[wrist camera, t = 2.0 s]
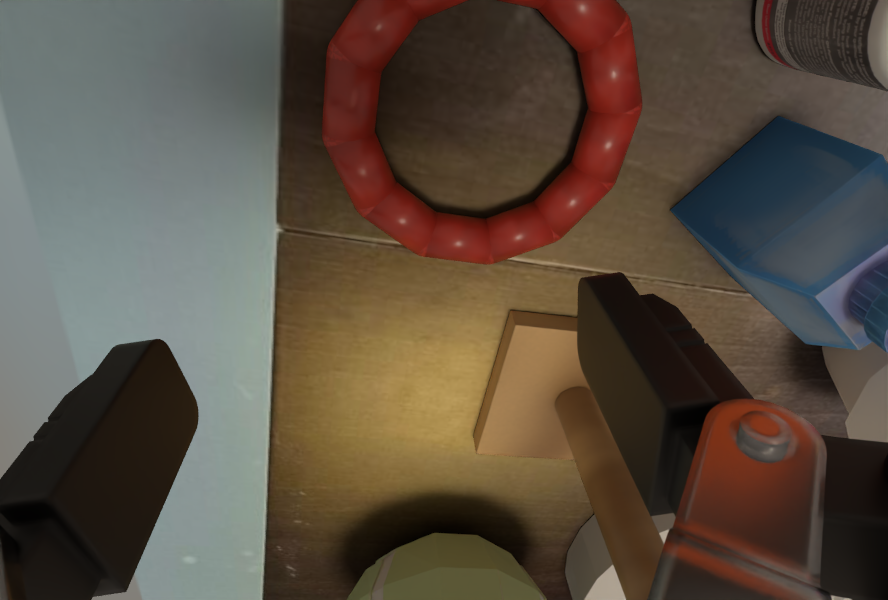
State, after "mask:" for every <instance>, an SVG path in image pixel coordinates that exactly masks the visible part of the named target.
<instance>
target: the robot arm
mask: <svg viewBox="0 0 888 600" xmlns="http://www.w3.org/2000/svg"><path fill="white" fill-rule="evenodd" d="M577 349H578V356H579V361H580V365H581V369H582V372H583V374H584V376H585V378H586V381H587V383H588V385H589V387H590V389H591V391H592V393H593V395H594V398H595V400H596V402H597V404H598V406H599V408H600V410H601V412H602V414H603V417H604V419H605V421H606V423H607V425H608V427H609V429H610V431H611V434H612V436H613V438H614V440H615V442H616V444H617V446H618V448H619V451H620V453H621V455H622V457H623V459H624V461H625V463H626V465H627V468H628V470H629V472H630V474H631V476H632V478H633V480H634V482H635V484H636V487H637V489H638V491H639V493H640V495H641V497H642V499H643V501H644V504H645V506H646V508H647V510H648V512H649V514H650V516H656V515H663V514H669V513H674V515H675V517H676V518H675V521H674V525H673V527H672V528H670V529H669V532H668V534H667V537H666V540H665V543H664V546H663V549H662V553H661V556H660V559H659V562H658V566H657V569H656V572H655V576H654V579H653V582H652V585H651V589H650V592H649V595H648V599H647V600H832V598H831V595H832V596H838V597H843V598H849V599H852V600H888V442H878V441H869V440H859V439H849V438H839V437H831V436H824V435H820V434H819V432H818V431H817V430H816V429H815V428H814V427H813V426H812V425H811V424H810V423H809V422H808V421H807V420H805V419H804V418H802V417H801V416H799V415H798V414H796V413H794V412H793V411H791V410H789V409H787V408H784V407H782V406H780V405H777V404H774V403H770V402H766V401H762V400H755V399H754V398H753V397H752V396H751V395H750V393H749V392H748V391H747V390H746V389H745V387H744V386H743V385H742V384H741V383H740V381H739V380H738V379H737V378H736V377H735V376H734V374H733V373H732V372H731V371H730V370H729V368H728V367H727V366H726V365H725V364H724V363H723V361H722V360H721V359H720V358H719V357H718V355H717V354H716V353H715V352H714V351H713V350H712V348H711V347H710V346H709V345H708V344H707V343H706V344H705V343H704V339H703V338H702V336H701V335H700V334H699V333H698V332H697V331H696V329H695V328H693V329H692V325H691V323H690V322H689V321H688V320H687V319H686V318H685V316H684V315H683V314H682V313H681V312H680V310H679V309H678V308H677V307H676V306H674V305H672V304H670V303H669V302H667V301H665V300H663V299H662V298H660V297H658V296H656V295H654V294H647V295H639V294H638V292H637V291H636V290H635V288H634V287H633V286H632V285H631V283H630V282H629V281H628V279H627V278H626V277H625V275H624V274H623V273H621V272H618V273H611V274H604V275H597V276H591V277H584V278H581V279H580V281H579V286H578V320H577ZM197 425H198V406H197V402H196V399H195V397H194V395H193V393H192V391H191V389H190V387H189V385H188V383H187V381H186V379H185V377H184V375H183V373H182V371H181V369H180V367H179V365H178V363H177V361H176V359H175V358H174V356H173V354H172V352H171V350H170V348H169V346H168V345H167V344H166V343H165V342H164V341H163V340H160V339H154V340H147V341H140V342H133V343H127V344H120V345H116V346H115V347H113V348H112V349H111V351H110V352H109V353H108V355H107V356H106V357H105V359H104V360H103V361H102V363H101V364H100V365H99V367H98V368H97V369H96V371H95V372H94V373H93V375H90V376H89V377H88V378H87V379H85V380H84V381H83V382H82V383H80V384H79V385H78V386H77V387H75V388H74V389H73V390H72V391H70V392H69V393H68V394H67V395H65V397H64V398H63V399H62V401H61V402H60V403H59V404H58V406H57V407H56V408H55V410H54V411H53V412H52V413H51V415H50V416H49V417H48V422H45V423H44V424H43V425H42V426H41V427H40V429H39V430H38V431H37V433H36V434H35V435H34V441H31V442H29V443H28V444H27V445H26V447H25V448H24V449H23V451H22V452H21V453H20V455H19V456H18V457H17V458H16V460H15V461H14V462H13V464H12V465H11V466H10V468H9V469H8V470H7V471H6V473H5V474H4V475H3V476H2V478H1V479H0V600H91V599H92V597H94V596H102V595H108V594H114V593H122V592H126V590H127V589H128V586H129V584H130V582H131V579H132V577H133V575H134V573H135V570H136V568H137V566H138V563H139V561H140V559H141V556H142V554H143V552H144V549H145V547H146V545H147V542H148V540H149V538H150V536H151V533H152V531H153V529H154V526H155V524H156V522H157V519H158V517H159V515H160V512H161V510H162V508H163V505H164V503H165V501H166V499H167V496H168V494H169V492H170V489H171V487H172V485H173V482H174V480H175V478H176V475H177V473H178V471H179V468H180V466H181V464H182V462H183V459H184V457H185V455H186V452H187V450H188V448H189V445H190V443H191V441H192V438H193V436H194V434H195V431H196V429H197Z"/></svg>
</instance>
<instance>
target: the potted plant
mask: <svg viewBox="0 0 888 600" xmlns="http://www.w3.org/2000/svg"><path fill="white" fill-rule="evenodd" d="M822 351H823V356H824V360H825V364H826V367H827V369H828V371H829V374H830V376H831V378H832V380H833V382H834V384H835V386H836V388H837V390H838V392H839V395H840V397H841V399H842V401H843V403H844V405H845V407H846V409H847V411H848V413H849V416H848V418H847V420H846V421H845V424H846V429H847V433H848V438H849V439H859V440H869V441H878V442H888V353H887V352H885V351H884V350H883V349H881V348H880V347H879V346H877V345H876V344H875V343H874V342H871V343H869V344H868V345H866V346H865V347H863V348H862V349H860V350H854V349H845V348H836V347H828V346H822Z"/></svg>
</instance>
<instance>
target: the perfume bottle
mask: <svg viewBox="0 0 888 600" xmlns="http://www.w3.org/2000/svg"><path fill="white" fill-rule="evenodd" d="M670 211H671V212H672V213H673V214H674V215H675V216H676V217H677V218H678V219H679V220H680V221H681V223H682V224H683V225H684V226H685V227H686V228H687V229H688V230H689V231H690V232H691V233H692V234H693V236H694V237H695V238H696V239H697V240H698V241H699V242H700V243H701V244H702V245H703V246H704V248H705V249H706V250H707V251H708V252H709V253H710V254H711V255H712V256H713V257H714V258H715V259H716V261H717V262H718V263H719V264H720V265H721V266H722V267H723V268H724V269H725V270H726V271H727V272H728V274H729V275H730V276H731V277H732V278H733V279H734V280H735V281H737V282H738V283H739V284H740V285H741V286H742V287H743V288H744V289H745V290H747V291H748V292H749V293H750V294H751V295H752V296H753V297H754V298H755V299H756V300H758V301H759V302H760V303H761V304H762V305H763V306H764V307H765V308H766V309H768V310H769V311H770V312H771V313H772V314H773V315H774V316H775V317H776V318H778V319H779V320H780V321H781V322H782V323H783V324H784V325H785V326H786V327H787V328H789V329H790V330H791V331H792V332H793V333H794V334H795V335H796V336H797V337H799V338H800V339H801V340H802V341H803V342H804V343H805V344H810V345H819V346H828V347H836V348H845V349H854V350H860V349H862V348H863V347H865V346H866V345H868V344H869V343H871V342H874V343H875V344H876V345H877V346H879V347H880V348H881V349H883V350H884V351H885V352H887V353H888V163H887V162H886V160H885V158H884V157H883V155H882V154H879V153H876V152H874V151H871V150H868V149H866V148H863V147H860V146H858V145H855V144H852V143H849V142H847V141H844V140H841V139H839V138H836V137H833V136H831V135H828V134H825V133H823V132H820V131H817V130H815V129H812V128H809V127H807V126H804V125H801V124H799V123H796V122H793V121H791V120H788V119H785V118H783V117H780V116H778V117H776V118H775V119H774V120H773V121H772V122H771V123H770V124H768V125H767V126H766V127H765V128H764V129H763V130H762V131H760V132H759V133H758V134H757V135H756V136H755V137H754V138H752V139H751V140H750V141H749V142H748V143H747V144H745V145H744V146H743V147H742V148H741V149H740V150H739V151H737V152H736V153H735V154H734V155H733V156H732V157H731V158H729V159H728V160H727V161H726V162H725V163H724V164H722V165H721V166H720V167H719V168H718V169H717V170H716V171H714V172H713V173H712V174H711V175H710V176H709V177H708V178H706V179H705V180H704V181H703V182H702V183H701V184H700V185H698V186H697V187H696V188H695V189H694V190H693V191H691V192H690V193H689V194H688V195H687V196H686V197H685V198H683V199H682V200H681V201H680V202H679V203H678V204H677V205H675V206H674V207H673V208H672V209H671V210H670Z"/></svg>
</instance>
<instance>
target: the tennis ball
mask: <svg viewBox="0 0 888 600" xmlns="http://www.w3.org/2000/svg"><path fill="white" fill-rule="evenodd" d="M347 600H546V597H545V596H544V594H543V593H542V592H541V590H540V589H539V588H538V587H537V585H536V584H535V583H534V581H533V580H532V579H531V577H530V576H529V575H528V573H527V572H526V571H525V569H524V568H523V567H522V565H521V566H520V565H519V564H518V563H517V561H516V560H515V558H514V557H513V556H512V554H511V553H509V552H507V551H505V550H504V549H502V548H500V547H498V546H496V545H494V544H493V543H491V542H489V541H487V540H485V539H483V538H482V537H480V536H478V535H466V534H447V533H433V534H430V535H427V536H425V537H422V538H419V539H417V540H415V541H413V542H411V543H408V544H406V545H403V546H401V547H398V548H396V549H394V550H393V551H391V552H389V553H388V554H386V555H384V556H383V557H381V558H379V559H378V560H376V563H375V564H374V565H373V566H371V567H369V568H368V569H366V570H365V572H364V573H363V575H362V577H361V578H360V580H359V581H358V583H357V584H356V586H355V587H354V589H353V590H352V592H351V594H350V595H349V597H348V598H347Z"/></svg>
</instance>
